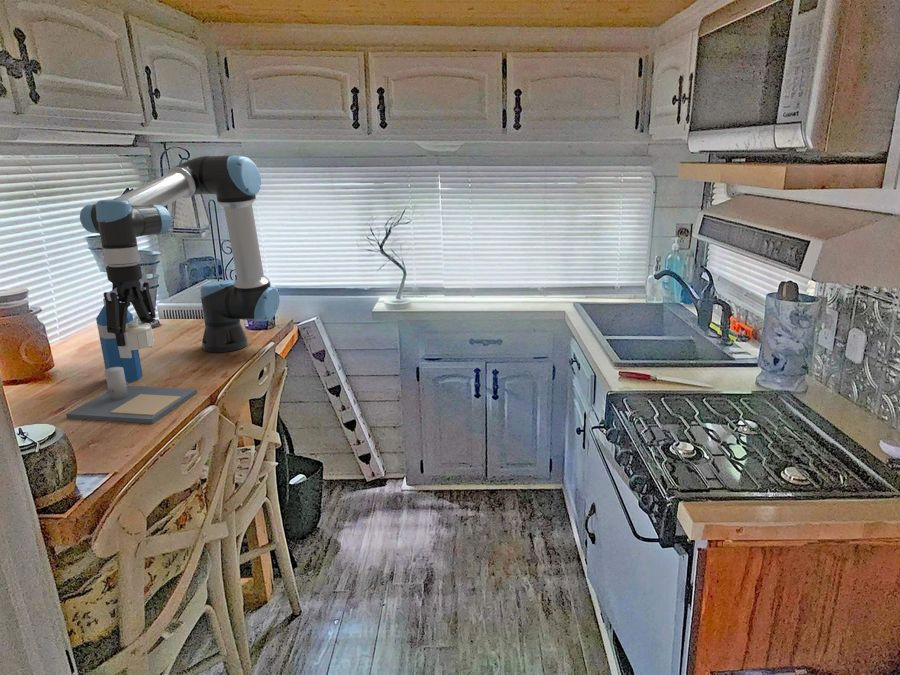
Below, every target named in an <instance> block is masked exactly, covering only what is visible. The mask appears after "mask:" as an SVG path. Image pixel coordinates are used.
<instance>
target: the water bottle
mask: <svg viewBox="0 0 900 675" xmlns="http://www.w3.org/2000/svg"><path fill="white" fill-rule="evenodd" d="M102 300H103V307H101V310H100V311H99V313H98V315H97V317H96V318H95V320H96V326H97V330H98V335H99V336H98V337H99V340H100V341H99V342H100V347H101V351H102V358H103V363H104V368H105V370H106V369H108V368H112V367H123V369H124V375H125V380H126V381H127V384H129V383H133V382H137V381H139V380H140V379H141V378H142V377H143V376H144V375H143V368H142V363H141V357H140V352H139V350H140V349H139V350H131V353H132V358H120V354H119V349H118V346H117V342H116V336H115V334H114V333H108V332H107V317H106V301H105V298H102ZM129 323H134V316H133V313H132V312H131V311H129V310H128V311H127V320H126V324H129Z"/></svg>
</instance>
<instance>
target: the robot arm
mask: <svg viewBox="0 0 900 675" xmlns="http://www.w3.org/2000/svg"><path fill="white" fill-rule="evenodd" d="M261 184H262V179H261V173H260V170H259V169H258V167H257V165H256V164H255V162H254V161H253V160H252V159H251V158H249V157H247V156H243V155H236V154H234V155H204V156H203V155H202V156H199V157H194V158H191V159H189V160H185V161H184V162H182V163H179V164H178V165H176V166H175V165H174V166H173V167H171V168H169V169H168V171H167V172H166V174H164V175H162V176H161V177H158V178H155V179H153V180H152V181H150V182H148V183H145V184H143V185H141V186H138V187H136V188H134V189H132V190H130V191H128V192H126V193H124V194H122V195H120V196H119V195H118V196H117V197H115V198H113V199H101V200H98V201H97V202H96V203H93V204H86V205H85V206H83V208H82V209H80V214H79V221H80V224H81V226H82V227H83V229H84V230H85V231H87V232H89V233H91V234H99V236H100V241H101V246H102V251H103V257H104V262H105V263H104V264H106V265H107V266H106V267H105V270H106V277H107V280H108V281H109V282H110V283H111V284H112V288H111V290H110V291H109V292H108V291H107V292H106V291H104V292H103V297H104V298H105V301H106V317H107V332H108V333H114V334H115V336H116V342H117V346H118V348H119V354H120V358H132V353H131V348H130V342H129V336H128V332H125V328H126V320H127V311H129V307H130V306H131V305H132V307H133V308H134V311H135V312H136V314H137V316H138V318H139V321H140V323H149V324H151V325H152V323H155V318H156V317H157V314H156V311H155V308H154V304H153V300H152V297H151V294H150V285H149V282H148V281H146V282H145V281H140V280H141V279H142V278H143V273H142V267H141V264H140V262H141V259H140V253H139V247H138V242H137V241H138V240H137V238H139V237H145V236H146V237H147V236H152V235H153V236H154V235H157V236H158V235H160V234H164V233H166V232H168V231H169V230H170V228H171V226H172V222H173V221H172V216H171V213H170V211H169V210H168V209H167V208H166V206H168V205H169V204H172V203H173V202H176V201H177V200H179V199H181V198H184V199H189V198H190V197H193V196H197V195H215V196H216V200H217V203H218V204H219V205H220V206H222V207H223V210H224V215H225V221H226V225H227V232H228V237H229V241H230V242H229V243H230V247H231V252H232V257H233V258H232V259H233V264H234V269H235V275H236V280H235V279H226V280H224V279H223V280H218V281H212V282H209V283H206V284H204V285H203V284H202V286H201V287H200V299H201V307H202V313H203V320H204V332H203V335H202V341H201V345H202V346H201V347H202V350H203V351H205V352H209V353H227V352H232V351H233V352H234V351H238V350H241V349H244V348H245V347H247V346H248V344H249V342H248V336H247V335H246V332H245V330H244V328H243V326H242V323H241V320H244V321H254V322H260V321H261V322H266V321H270V320H272V319H273V318H274V317H275V316H276V314H277V312H278V309H279V306H280V293H279V291H278V289H277V288H275V287H274V286H271V282H270V278H268V277H267V276H265V274H264V268H263V263H262V262H263V261H262V257H261V251H260V245H259V239H258V234H257V233H258V232H257V228H256V227H257V226H256V220H255V214H254V209H253V204H254V202H255V201H256V200H257V198H256V197H257V196H256V195H257V194H258V193H259V192H260V190H261ZM104 298H103V299H104ZM154 345H155V344H154ZM154 345H152V346H150V347H148V348H151V349H152V348H154Z"/></svg>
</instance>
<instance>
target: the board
mask: <svg viewBox="0 0 900 675" xmlns="http://www.w3.org/2000/svg"><path fill="white" fill-rule="evenodd" d="M104 374H105V381H106V384H107V389H106V392H103V393H102V394H100V395H97V396H96V397H95V398H93V399H91V400H89V401H87V402H85V403H84V404H81V405H80V406H78V407H76V408H74V409H72V410H70V411H68V412H67V413H65V416H66V419H70V420H73V419H74V420H89V421H105V422H121V423H135V424H137V423H139V424H152V425H153V424H155V423H156V422H158V421H159V420H161V419H162V418H164V417H165V416H166V415H168V414H169V413H171V412H172V411H173V410H175V409H177V408H178V407H179V406H181V405H182V404H183V403H186V402H187V401H188V400H190V399H191V398H193V397H194V396H195V395H196V394H198V390H197V389H195V388H179V387H160V386H159V387H157V386H145V385H144V386H139V385H128V383H127V381H126V380H125V375H124V369H123V367H112V368H108V369H105V370H104Z"/></svg>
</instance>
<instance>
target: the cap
mask: <svg viewBox="0 0 900 675" xmlns="http://www.w3.org/2000/svg"><path fill="white" fill-rule="evenodd" d="M125 332H128V336H129V342H130V348H131V350H143V349H144V350H145V349H147V348H148V347H150V346H152V345H155V344H154V343H155V341H154V335H153V334H154V333H153V328H152V323H151V324H149V323H143V322H134V323H129V324H126V328H125ZM118 349H119V348H118Z"/></svg>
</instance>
